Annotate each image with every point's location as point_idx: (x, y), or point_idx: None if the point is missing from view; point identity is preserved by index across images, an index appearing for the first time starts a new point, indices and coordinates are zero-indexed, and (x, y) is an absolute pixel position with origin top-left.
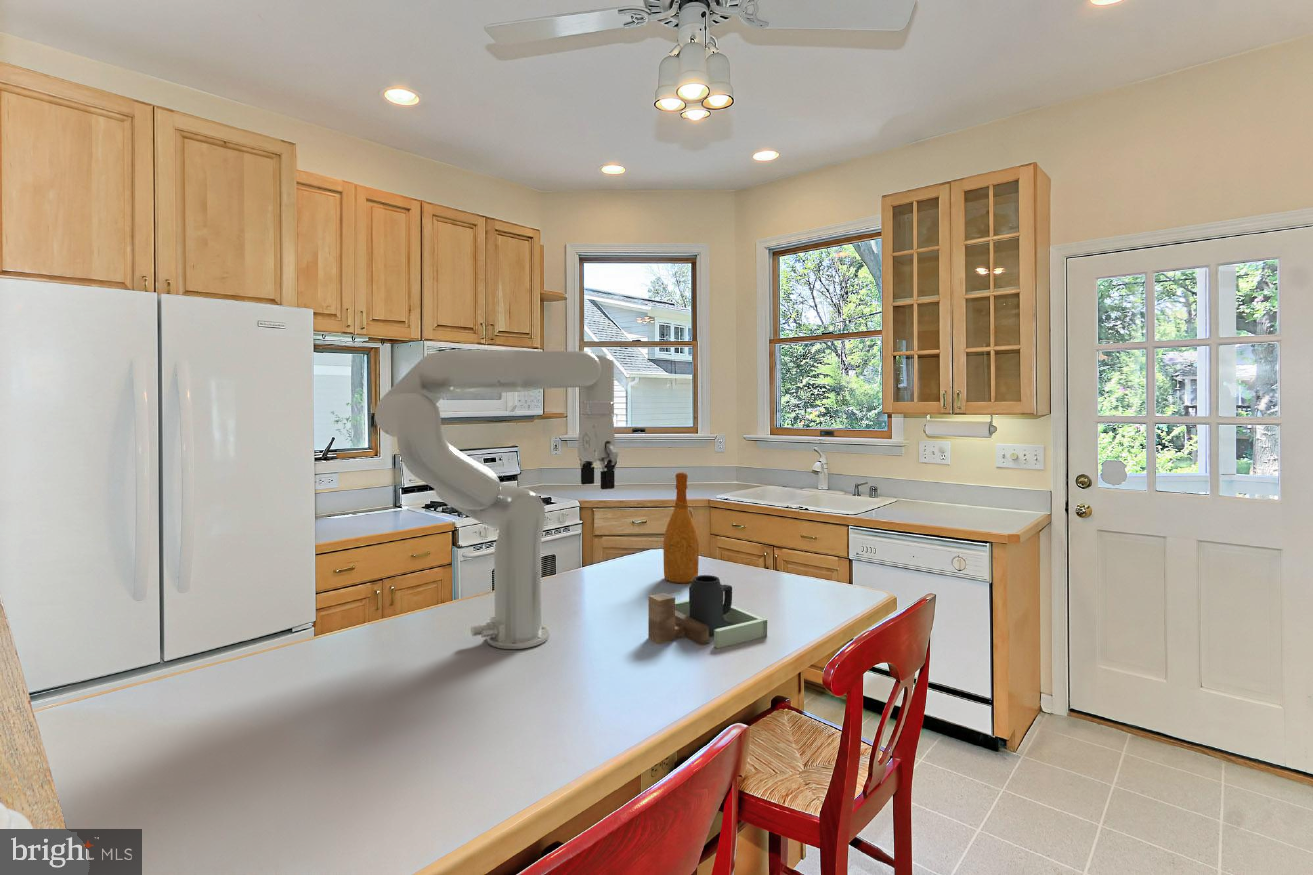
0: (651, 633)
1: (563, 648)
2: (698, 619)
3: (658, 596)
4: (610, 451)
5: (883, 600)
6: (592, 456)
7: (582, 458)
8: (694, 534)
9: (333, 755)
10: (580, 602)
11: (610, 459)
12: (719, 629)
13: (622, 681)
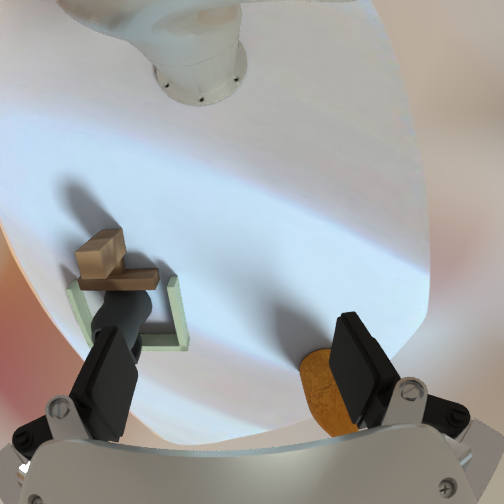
0: (112, 231)
1: (135, 111)
2: (109, 296)
3: (91, 261)
4: (4, 488)
5: (160, 438)
6: (79, 475)
7: (323, 449)
8: (314, 418)
9: None
10: (313, 208)
11: (21, 455)
12: (70, 294)
13: (35, 152)
